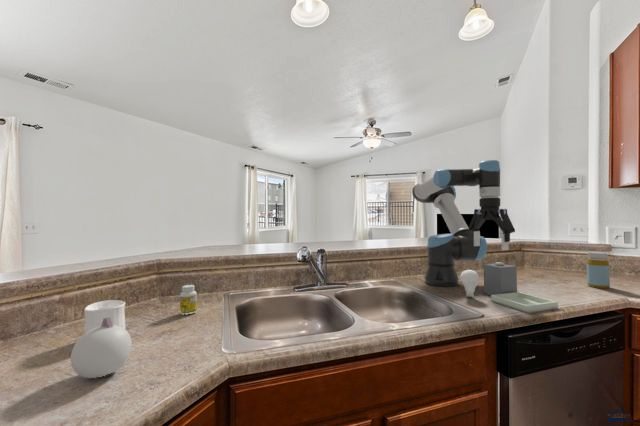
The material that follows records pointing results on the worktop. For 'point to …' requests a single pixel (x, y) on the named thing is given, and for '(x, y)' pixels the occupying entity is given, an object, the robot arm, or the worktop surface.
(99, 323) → the cup
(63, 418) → the worktop surface
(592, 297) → the worktop surface
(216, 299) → the worktop surface
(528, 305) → the tray
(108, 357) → the ornament
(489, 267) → the box
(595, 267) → the bottle
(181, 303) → the supplement bottle
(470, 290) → the light bulb
